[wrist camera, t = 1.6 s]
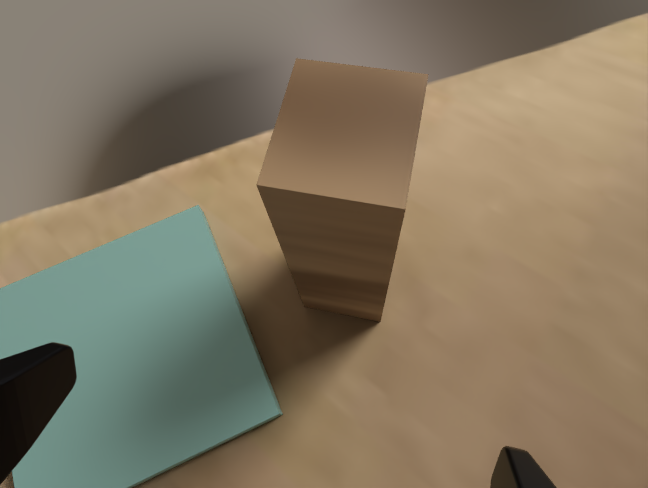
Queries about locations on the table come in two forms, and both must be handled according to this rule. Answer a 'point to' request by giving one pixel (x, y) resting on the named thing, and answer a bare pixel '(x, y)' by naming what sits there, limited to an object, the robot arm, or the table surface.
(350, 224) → the walnut block
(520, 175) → the table surface
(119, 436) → the teal board
